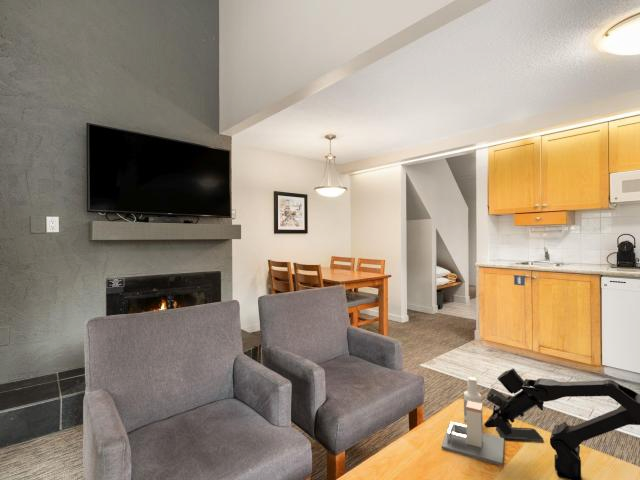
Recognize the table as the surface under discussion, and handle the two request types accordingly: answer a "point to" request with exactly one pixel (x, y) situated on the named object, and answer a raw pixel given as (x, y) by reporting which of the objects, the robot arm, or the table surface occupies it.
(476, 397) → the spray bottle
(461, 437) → the friction collar
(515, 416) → the robot arm
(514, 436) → the phone
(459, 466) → the table surface
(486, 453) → the base board
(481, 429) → the tall rectangular pillar
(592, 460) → the table surface
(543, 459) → the table surface
